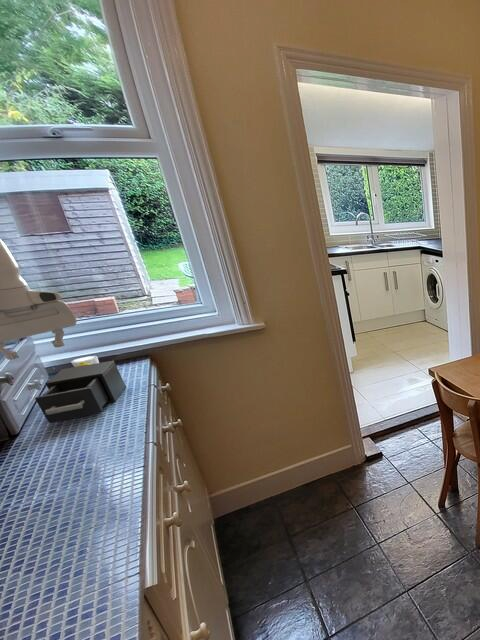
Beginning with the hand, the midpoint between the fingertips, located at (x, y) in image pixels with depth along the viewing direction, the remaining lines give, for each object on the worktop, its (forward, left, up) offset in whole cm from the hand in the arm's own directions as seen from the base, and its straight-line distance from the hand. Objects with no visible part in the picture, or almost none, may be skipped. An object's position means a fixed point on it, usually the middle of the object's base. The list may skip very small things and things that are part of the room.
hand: (37, 352), depth 107 cm
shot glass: (-7, +46, -21) cm, 51 cm away
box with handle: (0, +19, -21) cm, 28 cm away
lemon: (-5, +37, -21) cm, 43 cm away
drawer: (0, +6, -20) cm, 21 cm away
